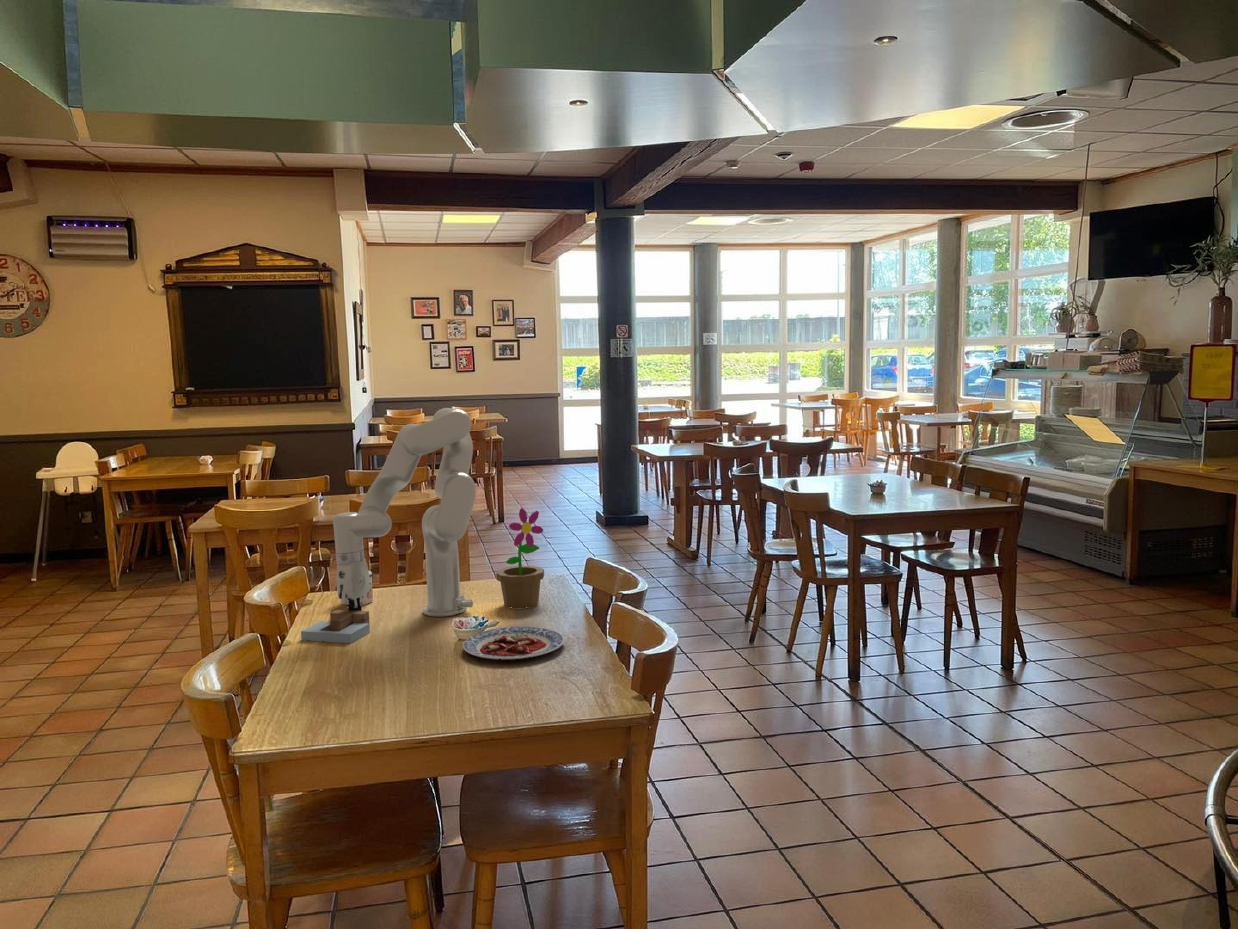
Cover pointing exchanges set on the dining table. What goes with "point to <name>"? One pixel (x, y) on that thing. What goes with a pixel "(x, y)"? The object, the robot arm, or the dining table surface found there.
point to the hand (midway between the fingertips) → (355, 620)
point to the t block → (347, 619)
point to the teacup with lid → (369, 595)
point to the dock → (335, 632)
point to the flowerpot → (522, 568)
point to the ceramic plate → (513, 643)
